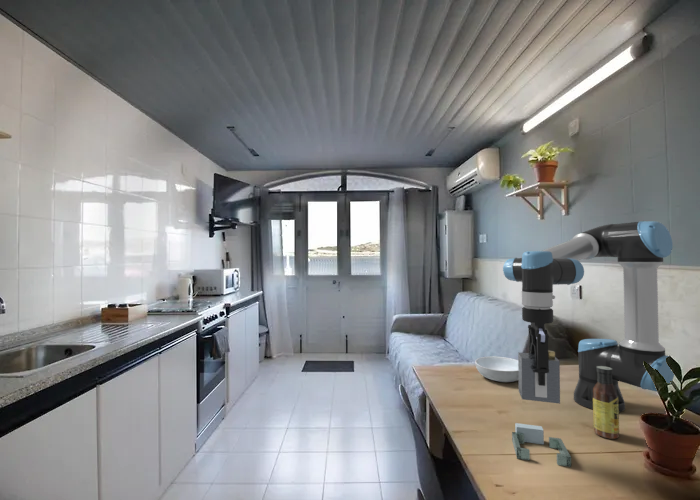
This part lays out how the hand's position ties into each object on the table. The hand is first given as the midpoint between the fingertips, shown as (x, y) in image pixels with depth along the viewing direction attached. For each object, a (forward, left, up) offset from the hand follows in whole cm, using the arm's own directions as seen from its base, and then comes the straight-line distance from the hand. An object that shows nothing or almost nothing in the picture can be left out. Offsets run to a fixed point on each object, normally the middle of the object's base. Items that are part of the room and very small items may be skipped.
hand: (538, 391), depth 95 cm
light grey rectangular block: (+1, -6, -16) cm, 18 cm away
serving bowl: (+4, -60, -17) cm, 62 cm away
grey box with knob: (0, 0, -1) cm, 1 cm away
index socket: (0, 0, -16) cm, 16 cm away
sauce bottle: (-21, -17, -17) cm, 32 cm away
